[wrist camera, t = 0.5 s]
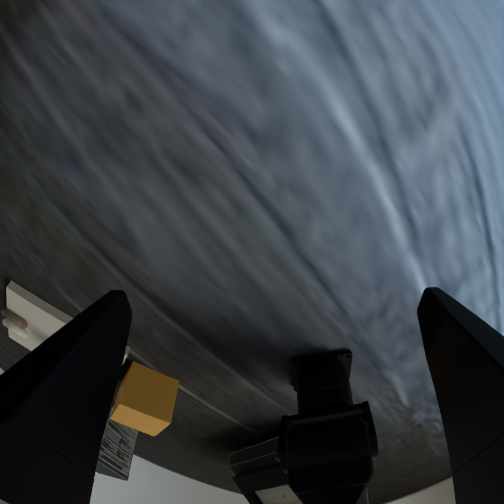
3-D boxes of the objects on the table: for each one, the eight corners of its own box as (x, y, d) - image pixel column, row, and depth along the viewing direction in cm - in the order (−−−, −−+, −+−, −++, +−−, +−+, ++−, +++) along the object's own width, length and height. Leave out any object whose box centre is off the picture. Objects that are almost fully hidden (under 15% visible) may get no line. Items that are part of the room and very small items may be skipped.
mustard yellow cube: (179, 380, 35) (170, 423, 30) (163, 398, 38) (154, 436, 33) (133, 361, 34) (119, 403, 29) (121, 380, 37) (109, 419, 32)
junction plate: (130, 347, 32) (118, 381, 28) (111, 384, 38) (101, 412, 34) (8, 278, 28) (-13, 305, 24) (10, 328, 33) (-5, 353, 29)
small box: (80, 394, 41) (60, 449, 32) (112, 399, 40) (94, 459, 32) (110, 425, 47) (97, 474, 38) (141, 429, 46) (129, 481, 37)
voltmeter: (297, 418, 41) (301, 549, 24) (360, 439, 46) (371, 540, 30) (228, 446, 48) (221, 549, 31) (293, 463, 53) (295, 550, 37)
